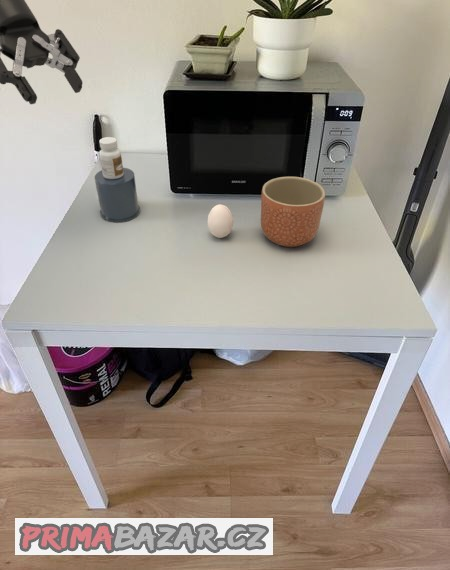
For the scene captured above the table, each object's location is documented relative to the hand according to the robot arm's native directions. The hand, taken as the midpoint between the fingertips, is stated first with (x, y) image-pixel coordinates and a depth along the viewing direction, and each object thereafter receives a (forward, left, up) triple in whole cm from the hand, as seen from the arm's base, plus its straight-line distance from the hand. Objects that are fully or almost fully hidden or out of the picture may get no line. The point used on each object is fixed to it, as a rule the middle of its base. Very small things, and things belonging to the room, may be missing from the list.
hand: (57, 95), depth 74 cm
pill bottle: (+8, +8, -20) cm, 23 cm away
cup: (+8, +8, -29) cm, 31 cm away
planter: (+38, -16, -29) cm, 51 cm away
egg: (+25, -10, -29) cm, 40 cm away
